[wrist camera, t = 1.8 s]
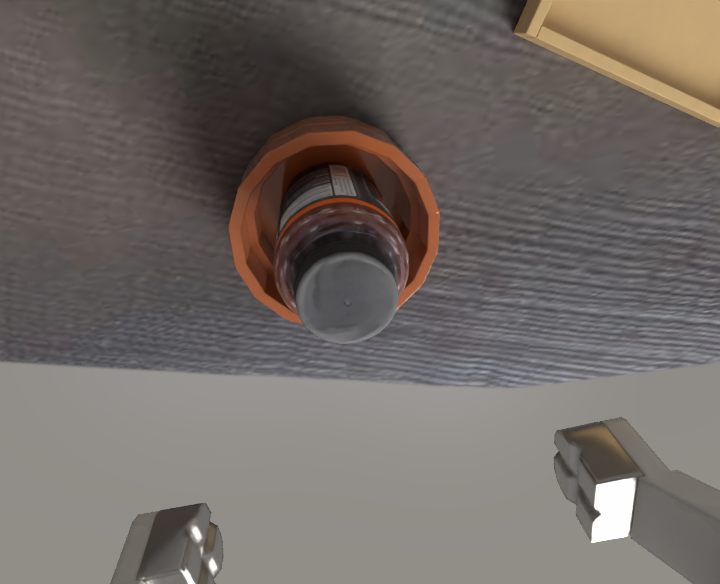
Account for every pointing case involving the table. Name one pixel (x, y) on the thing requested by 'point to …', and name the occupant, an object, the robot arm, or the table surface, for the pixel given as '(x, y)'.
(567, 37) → the tray
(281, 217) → the supplement bottle
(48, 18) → the table surface
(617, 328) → the table surface
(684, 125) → the table surface
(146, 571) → the robot arm
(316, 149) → the bowl
